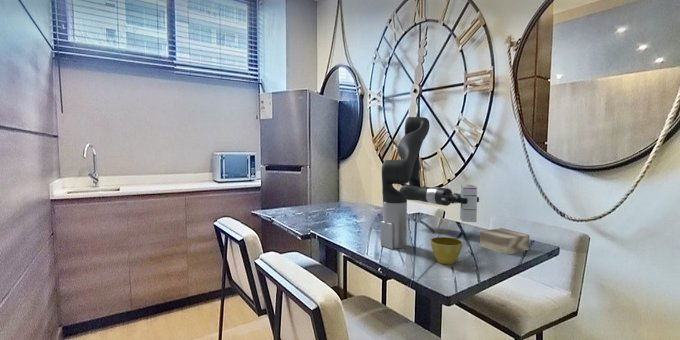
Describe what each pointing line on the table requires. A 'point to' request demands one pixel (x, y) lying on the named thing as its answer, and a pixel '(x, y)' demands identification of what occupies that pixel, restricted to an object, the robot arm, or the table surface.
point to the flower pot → (446, 249)
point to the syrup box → (469, 203)
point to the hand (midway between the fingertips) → (472, 200)
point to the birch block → (504, 240)
